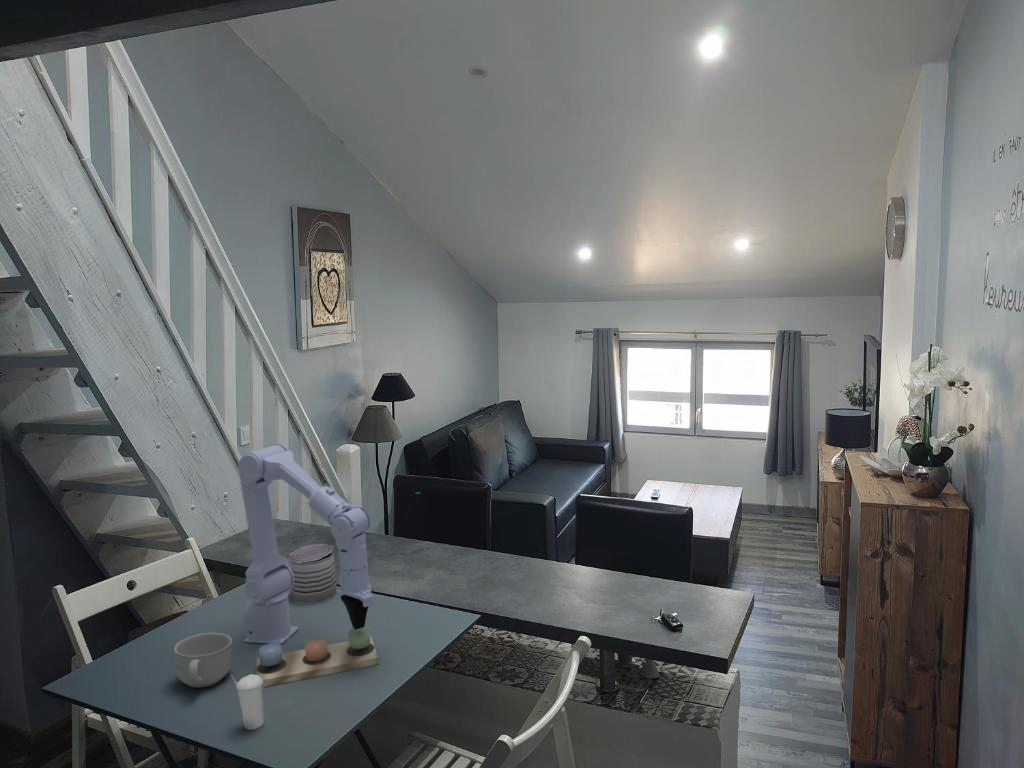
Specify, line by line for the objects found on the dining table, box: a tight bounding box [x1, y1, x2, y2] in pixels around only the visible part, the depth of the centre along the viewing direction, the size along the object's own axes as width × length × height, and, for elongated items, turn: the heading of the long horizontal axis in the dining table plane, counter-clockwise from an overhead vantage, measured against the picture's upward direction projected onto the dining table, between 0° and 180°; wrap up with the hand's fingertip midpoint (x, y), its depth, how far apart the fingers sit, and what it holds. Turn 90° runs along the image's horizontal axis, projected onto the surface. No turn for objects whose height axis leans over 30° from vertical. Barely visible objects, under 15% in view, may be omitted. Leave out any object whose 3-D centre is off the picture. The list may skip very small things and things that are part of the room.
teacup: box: [173, 632, 233, 688], centre depth 150 cm, size 14×11×8 cm
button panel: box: [255, 636, 379, 688], centre depth 156 cm, size 24×10×2 cm, turn 108°
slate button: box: [258, 643, 283, 666], centre depth 153 cm, size 4×4×3 cm
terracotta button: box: [304, 638, 328, 661], centre depth 155 cm, size 4×4×3 cm
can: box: [287, 543, 338, 606], centre depth 191 cm, size 11×11×12 cm
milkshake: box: [230, 673, 264, 731], centre depth 134 cm, size 4×5×10 cm
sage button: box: [348, 626, 371, 649], centre depth 158 cm, size 4×4×3 cm
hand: (358, 627), depth 158 cm, fingers closed
